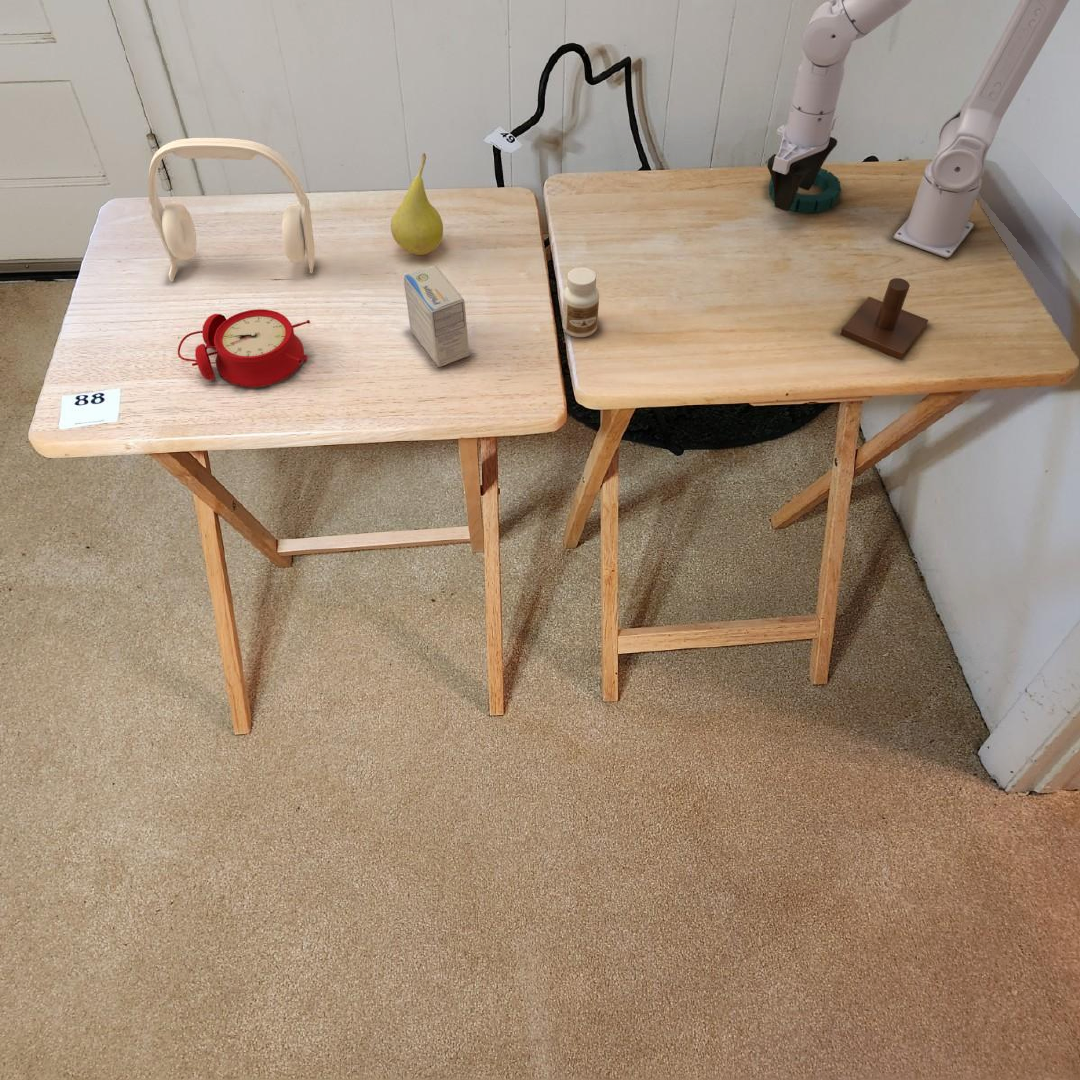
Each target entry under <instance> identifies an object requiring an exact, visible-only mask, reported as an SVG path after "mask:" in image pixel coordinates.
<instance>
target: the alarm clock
mask: <svg viewBox="0 0 1080 1080" xmlns="http://www.w3.org/2000/svg"><path fill="white" fill-rule="evenodd" d="M310 323H311V320H309V319H306V321H303V322H299V323H296V324H292V322H291V321H290V320H289V318H287V317H286V316H285V315H284V314H282V313H280V312H278V311H275V310H270V309H266V308H265V309H264V308H263V309H262V308H261V309H260V308H258V309H257V308H256V309H249V310H245V311H241V312H238V313H235V314H233V315H232V316H229V317H228V318H226V316H225V315H224V314H222V313H212V314H211V315H209V316H208V317H207V319H205V321H204V323H203V326H202V329H201V330H198V331H193V332H190V333H188V334H186V335H184V336H183V338H182V339H181V340H180V342H179V345H178V347H177V356H178V358H179V359H181V360H183V361H186V362H193V363H191V366H192V367H196V366H197V368H198V371H199V372H200V374H201V376H202V377H203V378H204V379H205V380H208V381H214V380H216V377H215V373H214V369H213V365H212V363H211V359H210V356H214V355H215V366H216V370H217V372H218V373H219V375H220V376H221V377H222V378H223V379H224V380H226V381H227V382H229V383H231V384H234V385H236V386H240V387H246V388H258V387H265V386H269V385H273V384H276V383H279V382H281V381H283V380H285V379H288V377H290V376H291V375H292V374H294V373H295V372H296V370H298V369H299V367H300V366H301V364H302V363H303V361H305V362H308V361H307V360H308V355H307V354H305V350H304V346H303V343H302V341H301V340H300V339H299V337H298V336H297V335H295V330H294V328H298V327H300V326H302V325H303V326H304V325H306V324H310ZM197 334H202V335H201V336H202V339H203V342H204V343H201V344H198V345H196V347H195V350H194V353H195V354H194V355H195V357H194V358H186V357H183V356H182V355H181V347H182V345H183V343H184V342H185V340H186V339H188V338H189V337H191V336H193V335H197ZM208 349H212V350H215V351H212V352H209V353H208Z"/></svg>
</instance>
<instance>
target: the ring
mask: <svg viewBox="0 0 1080 1080" xmlns="http://www.w3.org/2000/svg"><path fill="white" fill-rule="evenodd" d="M813 185H814V186H816V187H818V188H820V190H821V191H822V192H820V193H815V194H801V193H799V192H797V194H796V196H795V199H794V202H793V204H792V206H791V208H790V209H789V210H788V211H792V212H796V211H797V213H799V214H800V213H801V214H802V213H803V214H814V213H815V214H818V213H821V212H822V213H823V212H826V211H829V210H830V209H832V208H833V207H834V206H835V205H836V204H837V203H838V201H839V198H840V195H841V190H842V187H841V181H840V180H839V178H838V177H837V176H836V175H834V173H832V172H831V171H828V169H824V168H822V167H821V168H820V171H819V173H818V175H817V177H816V179H815V181H814V183H813ZM813 185H812V186H813ZM768 194H769V197H770V200H772V201H774V188H773V181H772V177H770V181H769V185H768Z"/></svg>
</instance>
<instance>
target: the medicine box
mask: <svg viewBox="0 0 1080 1080" xmlns="http://www.w3.org/2000/svg"><path fill="white" fill-rule="evenodd" d="M403 285H404V292H405V298H406V306H407V314H408V315H407V316H408V320H409V328H410V333H412V335H413V336H414V337H415V339H416V340H417V341H418V342H419V344H420V345H421V346H422V348H423V349H424V350H425V352H426V353H427V355H429V357H430V358H431V359H432V361H433V362H434V363H435V365H436V366H437V368H441V367H443V366H446V365H449V364H451V363H454V362H456V361H459V360H461V359H465V358H467V357H470V347H469V337H468V336H469V335H468V324H467V323H468V322H467V314H466V304H465V303H466V302H465V299H464V298H463V296H461V293H459V292H458V290H457V289H456V288H455V287H454V286H453V285H452V283H451V282H450V281H449V280H448V279H447V277H446V276H445V275H444V274H443V272H442V271H441V270H440V269H439V268H438V266H437V265H432V266H427V267H425V268H421V269H418V270H416V271H415V270H414V271H412V272H410V273H407V274H405V275H403Z"/></svg>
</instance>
